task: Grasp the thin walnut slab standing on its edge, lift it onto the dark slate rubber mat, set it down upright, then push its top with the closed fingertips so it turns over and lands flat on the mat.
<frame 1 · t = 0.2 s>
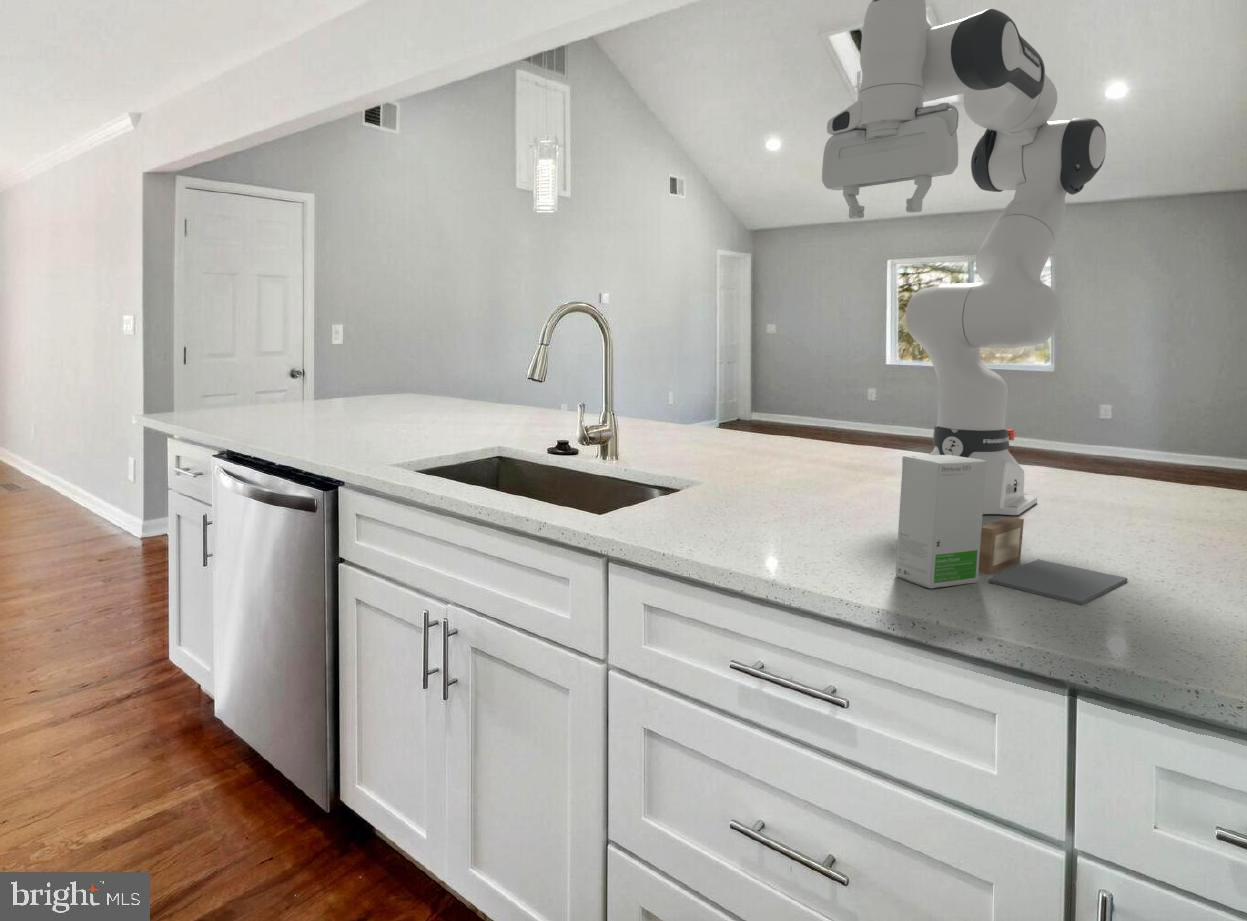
hand: (884, 215, 119), 47 cm above the worktop, fingers open, 8 cm apart
skincare box: (935, 580, 104), on the worktop
walnut slab: (998, 566, 110), on the worktop
slate mat: (1057, 581, 103), on the worktop
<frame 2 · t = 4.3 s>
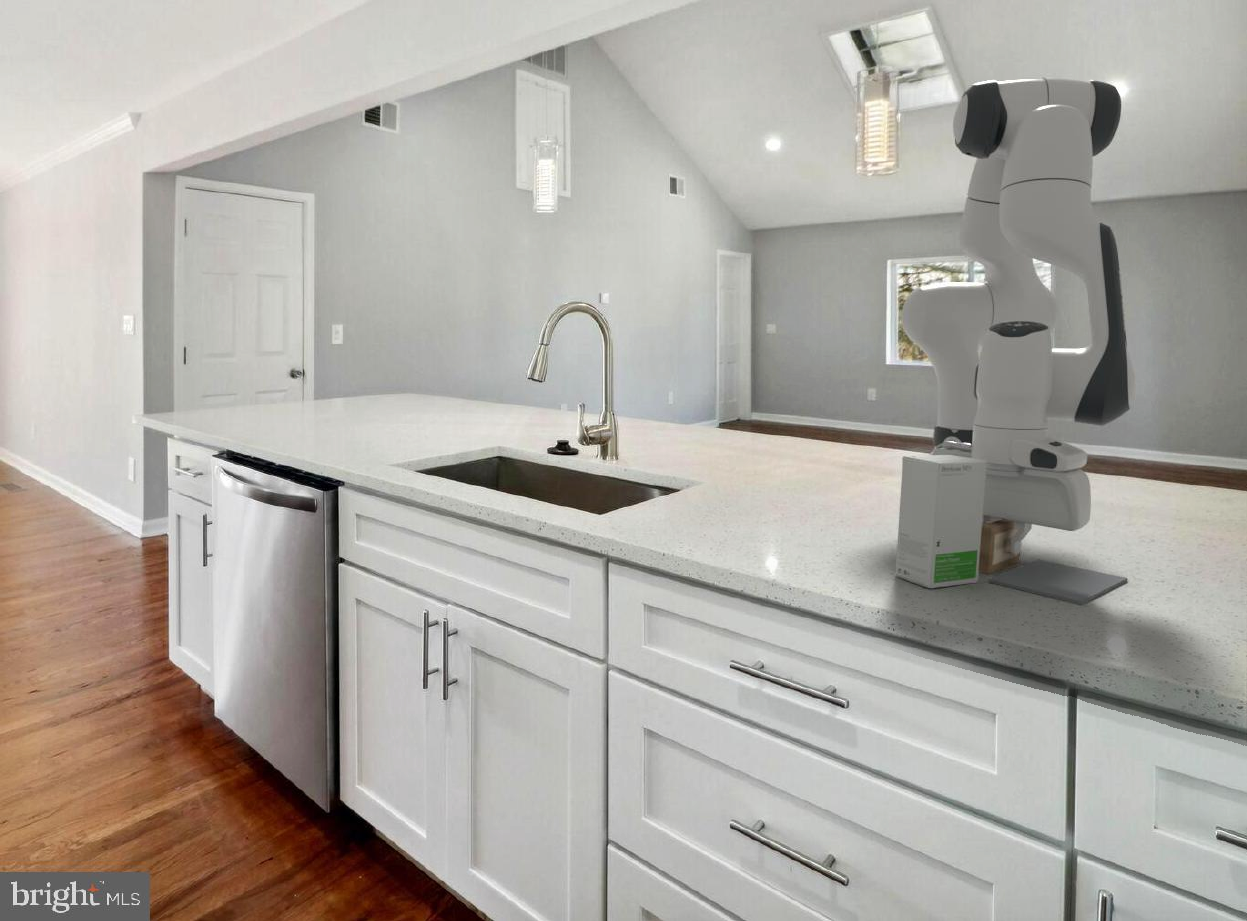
hand: (1000, 550, 110), 2 cm above the worktop, fingers closed on walnut slab, 2 cm apart
walnut slab: (998, 566, 110), on the worktop, touching gripper
everything else where it was.
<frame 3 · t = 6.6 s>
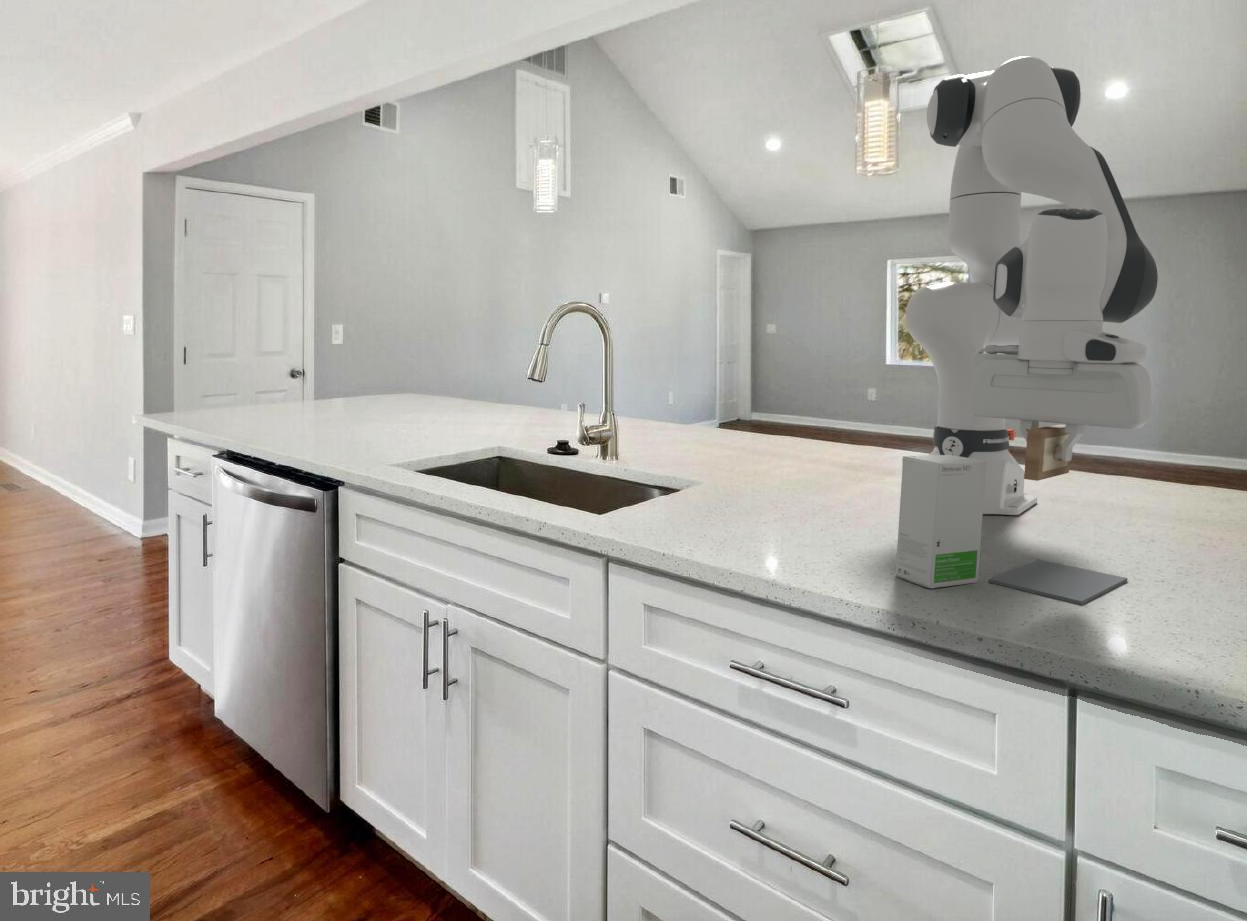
hand: (1049, 459, 102), 15 cm above the worktop, fingers closed on walnut slab
walnut slab: (1046, 475, 102), point 13 cm above the worktop, touching gripper
everything else where it was.
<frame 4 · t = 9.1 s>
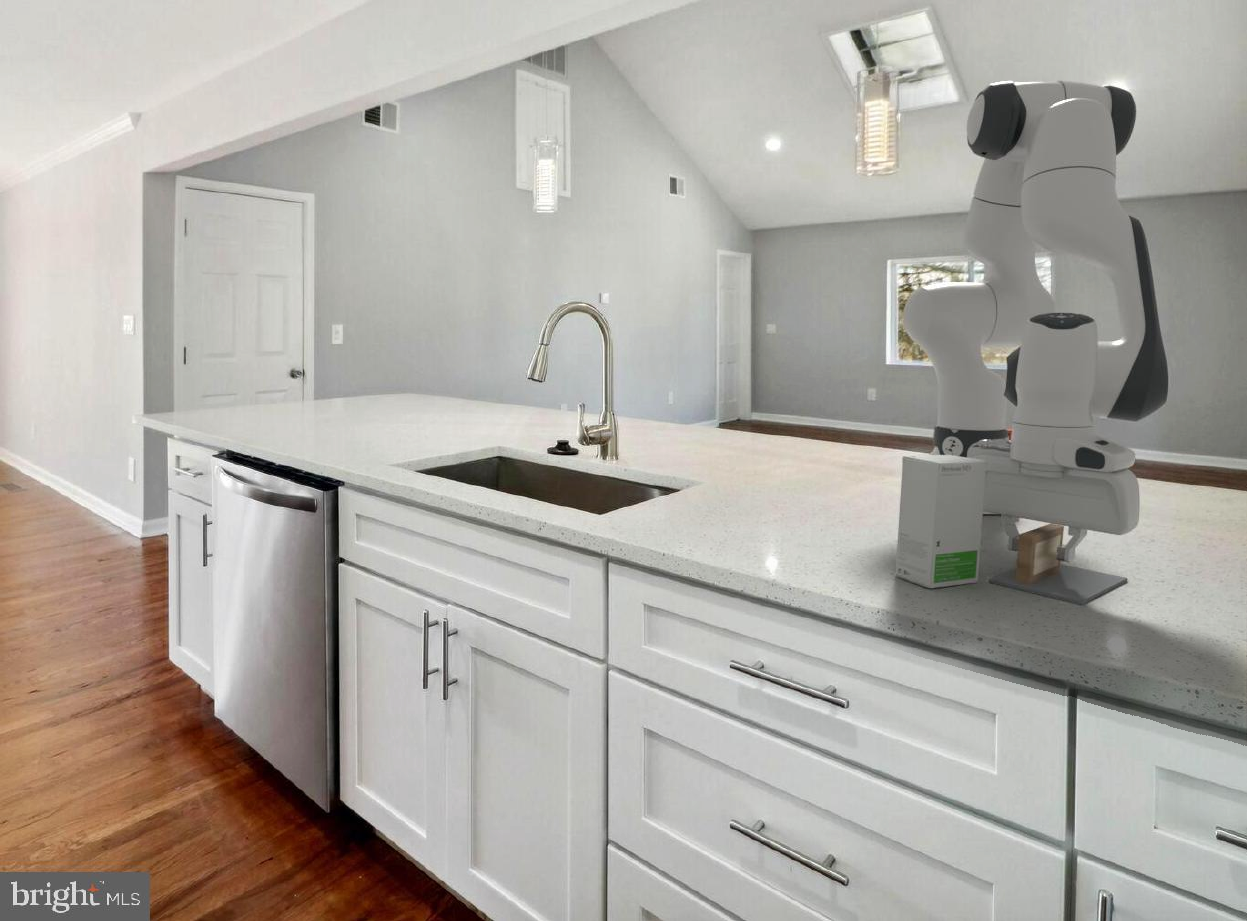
hand: (1040, 555, 104), 3 cm above the worktop, fingers open, 5 cm apart
walnut slab: (1037, 576, 104), resting on slate mat
everything else where it was.
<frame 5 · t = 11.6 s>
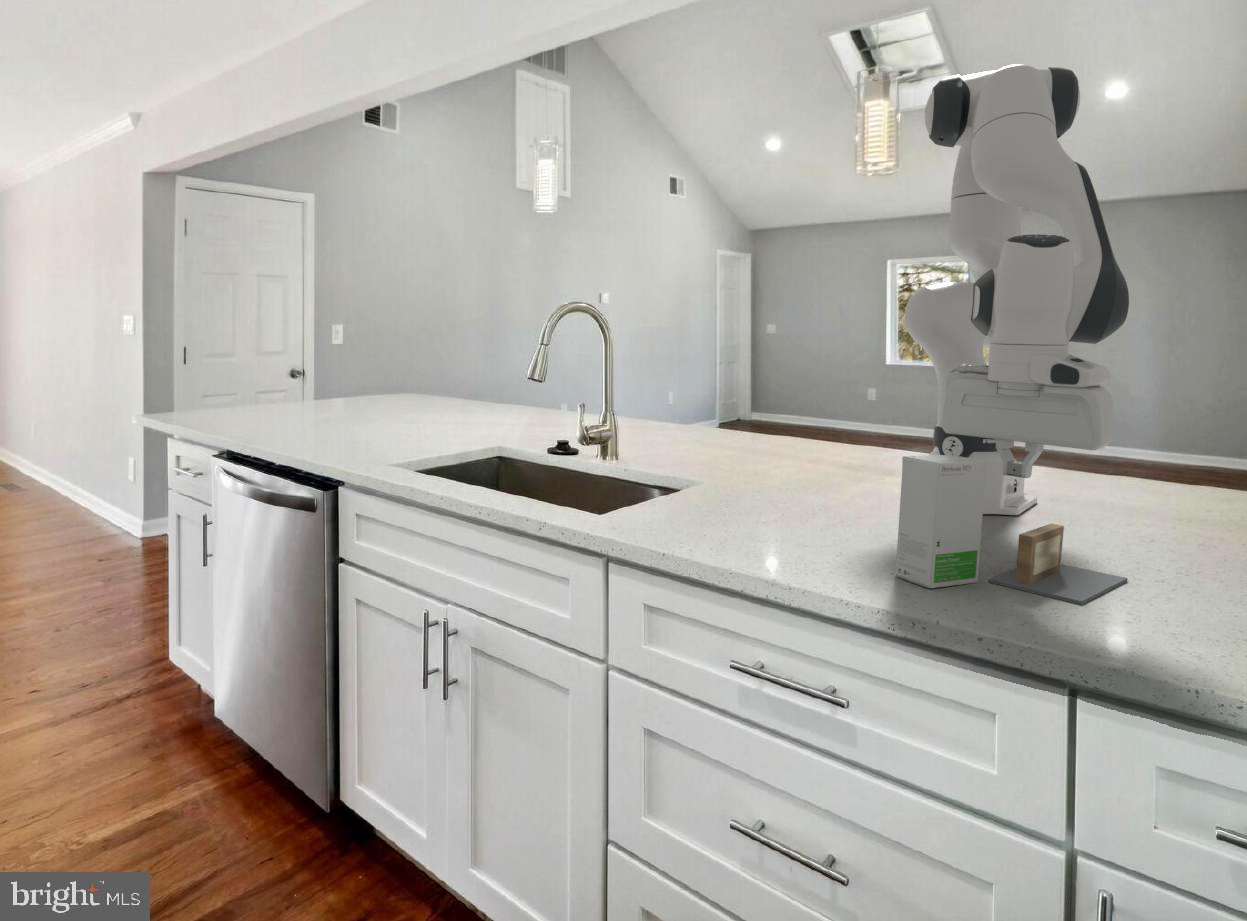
hand: (1016, 476, 105), 13 cm above the worktop, fingers closed
nothing on the worktop moved.
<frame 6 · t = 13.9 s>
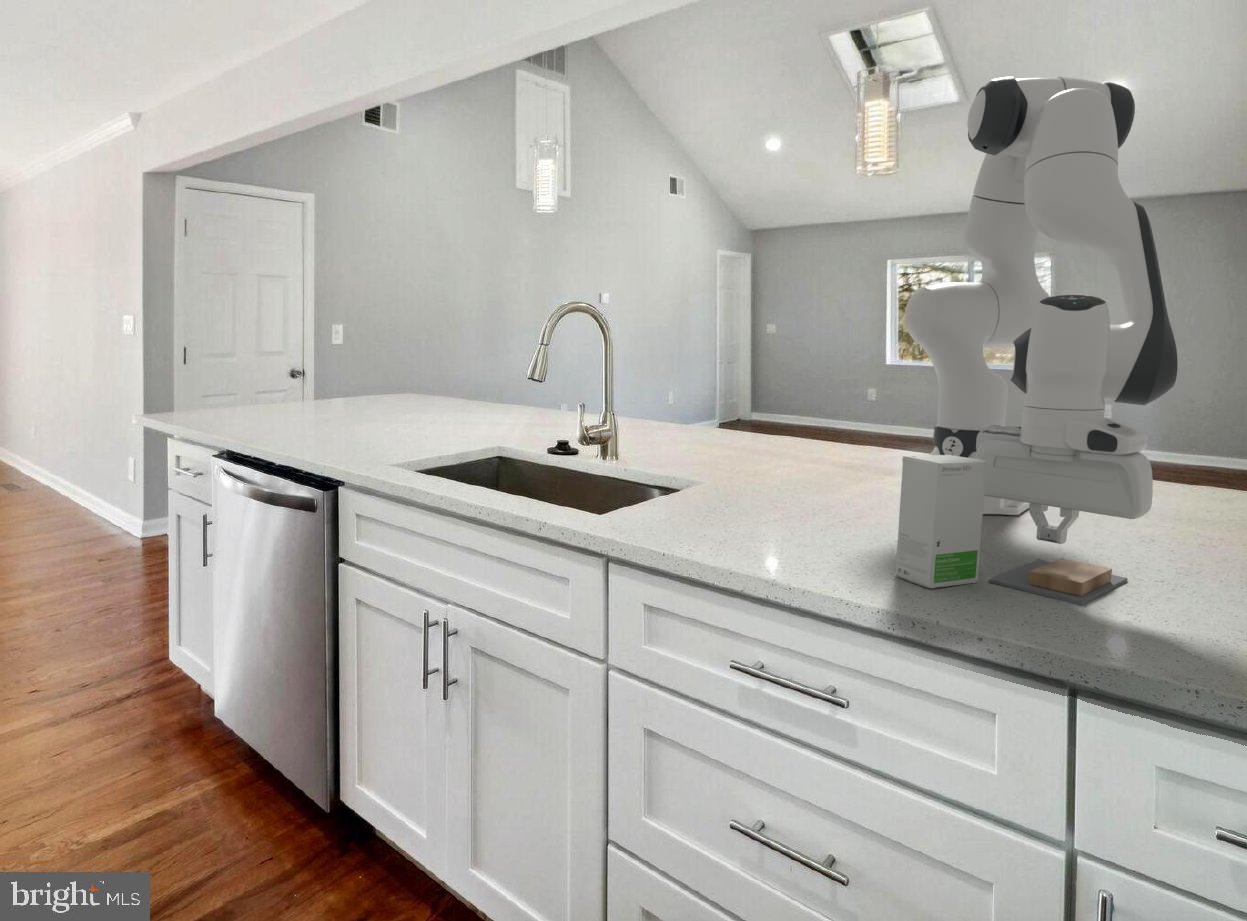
hand: (1051, 541, 102), 5 cm above the worktop, fingers closed
walnut slab: (1045, 570, 103), point 1 cm above the worktop, tilted 90°, touching slate mat
everything else where it was.
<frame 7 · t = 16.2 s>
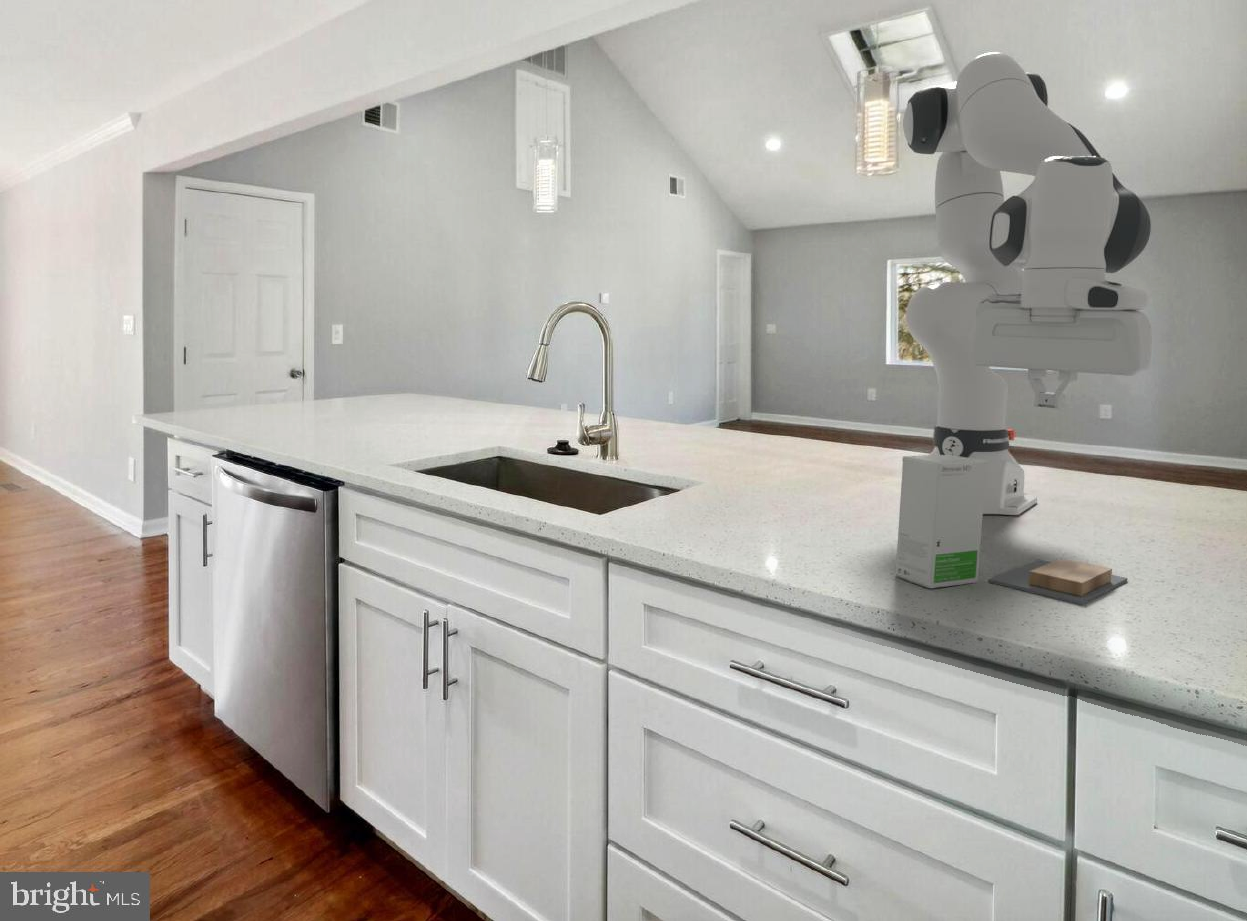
hand: (1048, 407, 103), 22 cm above the worktop, fingers closed
nothing on the worktop moved.
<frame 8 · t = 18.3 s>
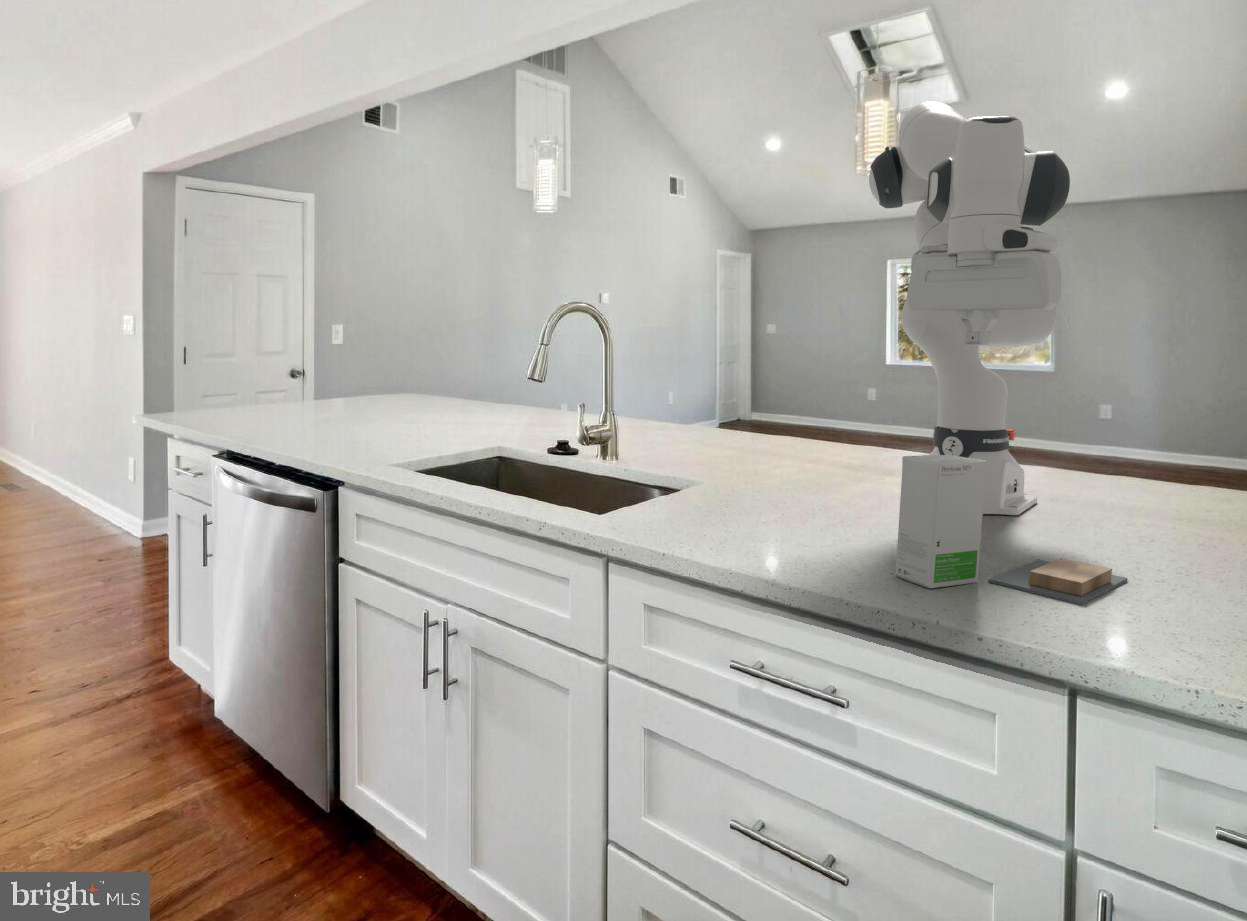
hand: (975, 344, 114), 29 cm above the worktop, fingers closed
nothing on the worktop moved.
at the end: walnut slab tilted 90°; walnut slab inside the target area on the slate mat (1.8 cm from its centre), point 1.3 cm above the slate mat's base; the gripper is holding nothing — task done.
